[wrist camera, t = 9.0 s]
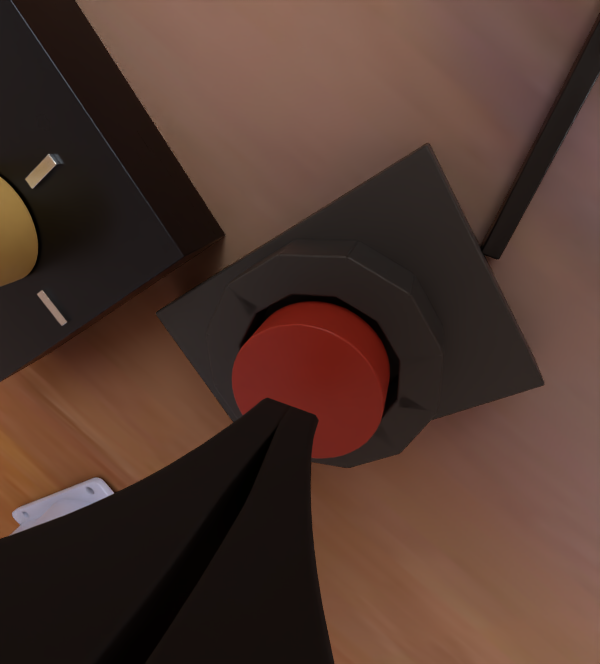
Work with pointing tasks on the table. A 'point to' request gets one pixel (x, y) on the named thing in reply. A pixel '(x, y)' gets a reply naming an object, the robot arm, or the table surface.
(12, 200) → the dimmer knob
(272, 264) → the switch box
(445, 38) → the table surface
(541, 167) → the table lamp
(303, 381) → the lamp switch
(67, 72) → the dimmer panel
